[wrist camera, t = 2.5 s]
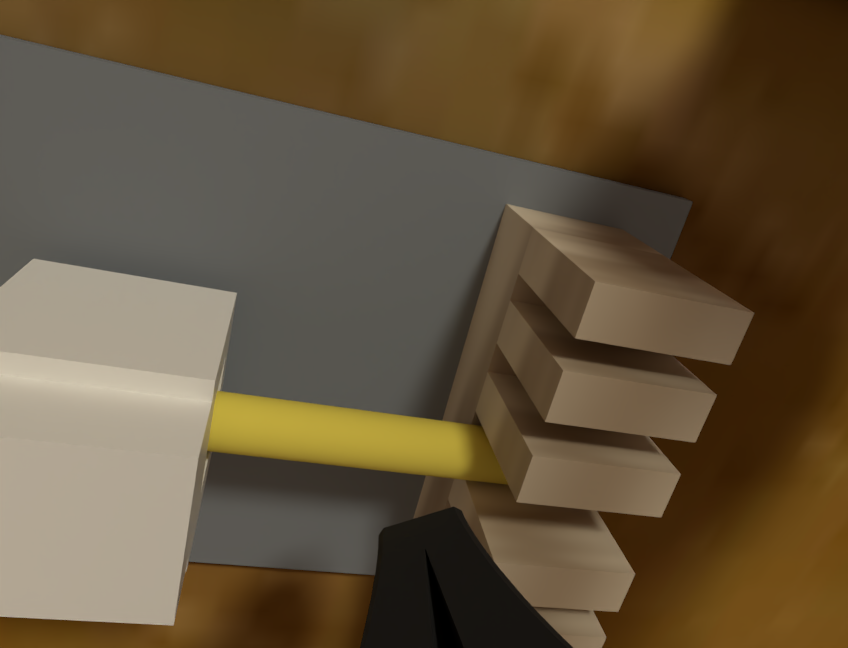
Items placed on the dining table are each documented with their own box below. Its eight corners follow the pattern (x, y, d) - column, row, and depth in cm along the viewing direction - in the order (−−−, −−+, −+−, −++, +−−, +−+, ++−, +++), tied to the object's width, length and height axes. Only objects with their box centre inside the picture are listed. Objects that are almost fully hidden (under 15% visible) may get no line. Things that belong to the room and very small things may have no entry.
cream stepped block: (237, 292, 15) (202, 434, 10) (212, 448, 16) (171, 643, 11) (33, 258, 14) (-127, 396, 9) (26, 427, 15) (-114, 630, 10)
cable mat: (684, 197, 16) (692, 201, 16) (536, 577, 21) (540, 587, 20) (-903, -181, 10) (-948, -189, 10) (-644, 487, 14) (-669, 499, 14)
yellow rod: (535, 423, 15) (553, 453, 14) (519, 467, 16) (536, 499, 15) (-761, 245, 10) (-887, 271, 9) (-732, 317, 11) (-849, 350, 10)
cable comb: (622, 229, 16) (754, 312, 11) (503, 557, 20) (566, 724, 15) (506, 204, 15) (595, 282, 11) (404, 549, 19) (437, 722, 14)
